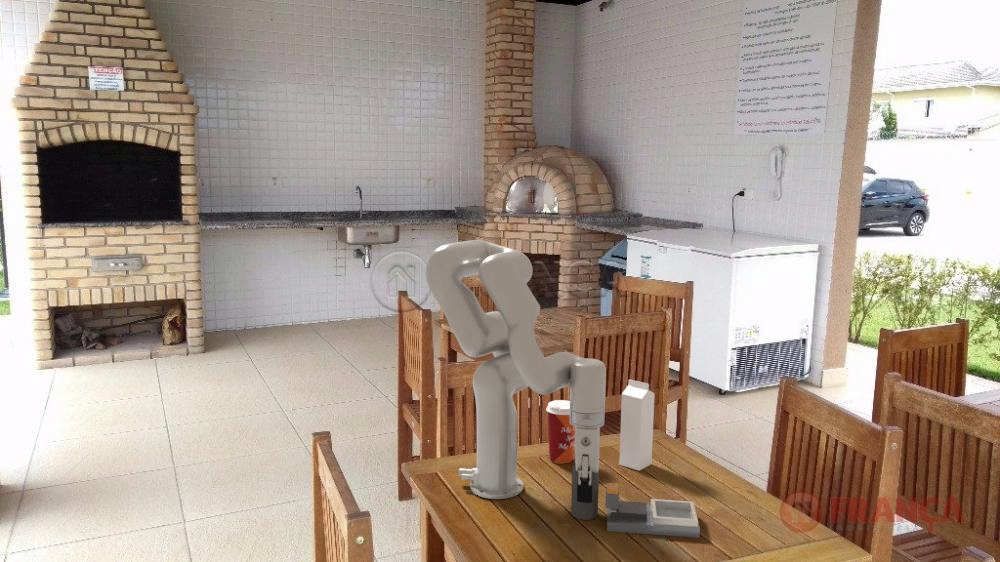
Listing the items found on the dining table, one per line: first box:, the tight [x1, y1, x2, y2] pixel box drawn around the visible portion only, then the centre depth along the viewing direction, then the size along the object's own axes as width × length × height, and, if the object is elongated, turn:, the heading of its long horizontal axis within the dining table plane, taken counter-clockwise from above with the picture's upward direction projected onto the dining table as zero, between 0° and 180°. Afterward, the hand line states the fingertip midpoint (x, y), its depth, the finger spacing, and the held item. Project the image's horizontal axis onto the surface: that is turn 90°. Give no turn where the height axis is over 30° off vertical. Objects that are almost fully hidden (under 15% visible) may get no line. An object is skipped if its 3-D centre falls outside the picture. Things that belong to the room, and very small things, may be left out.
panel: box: [606, 498, 701, 539], centre depth 165 cm, size 19×10×4 cm, turn 82°
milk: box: [619, 379, 655, 471], centre depth 195 cm, size 6×6×22 cm
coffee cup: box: [545, 399, 575, 463], centre depth 198 cm, size 8×8×15 cm
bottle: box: [570, 455, 600, 521], centre depth 168 cm, size 6×6×15 cm
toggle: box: [605, 482, 620, 509], centre depth 166 cm, size 3×4×4 cm
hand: (585, 494), depth 168 cm, fingers closed on bottle, 5 cm apart
